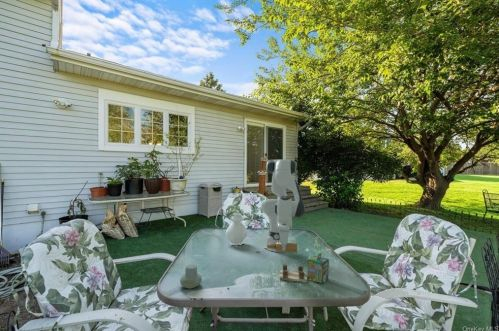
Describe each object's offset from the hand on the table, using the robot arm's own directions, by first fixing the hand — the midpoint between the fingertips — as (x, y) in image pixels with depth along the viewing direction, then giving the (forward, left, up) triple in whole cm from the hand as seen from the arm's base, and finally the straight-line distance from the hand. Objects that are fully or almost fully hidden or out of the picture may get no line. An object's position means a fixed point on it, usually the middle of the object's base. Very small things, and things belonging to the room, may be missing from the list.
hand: (283, 248), depth 144 cm
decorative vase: (-57, -39, -16) cm, 71 cm away
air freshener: (+21, -48, -16) cm, 54 cm away
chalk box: (0, +19, -16) cm, 25 cm away
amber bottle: (-2, -1, -1) cm, 2 cm away
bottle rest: (0, +5, -16) cm, 17 cm away
